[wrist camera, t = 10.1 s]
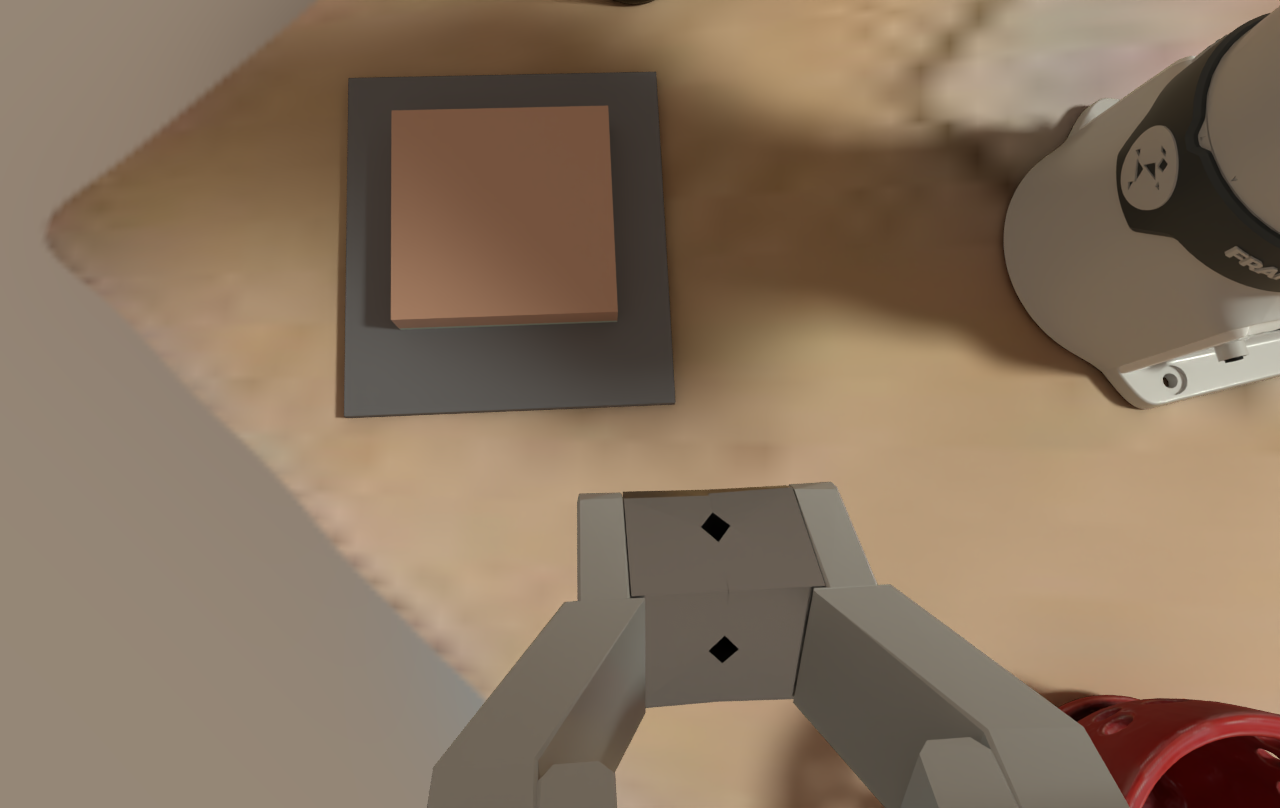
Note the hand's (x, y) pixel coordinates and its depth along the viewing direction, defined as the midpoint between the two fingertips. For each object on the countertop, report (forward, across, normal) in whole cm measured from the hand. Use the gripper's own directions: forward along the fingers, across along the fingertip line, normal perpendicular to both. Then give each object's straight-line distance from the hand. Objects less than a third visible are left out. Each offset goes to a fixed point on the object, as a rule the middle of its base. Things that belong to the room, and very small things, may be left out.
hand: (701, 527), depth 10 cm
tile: (+32, +6, +15) cm, 35 cm away
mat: (+37, +6, +12) cm, 39 cm away
